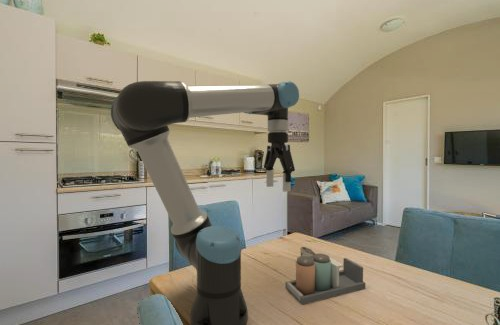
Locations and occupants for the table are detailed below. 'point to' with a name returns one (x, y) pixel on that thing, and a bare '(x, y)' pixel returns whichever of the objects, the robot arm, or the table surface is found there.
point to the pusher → (335, 273)
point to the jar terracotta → (305, 275)
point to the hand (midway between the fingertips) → (277, 188)
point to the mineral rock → (306, 252)
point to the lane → (347, 283)
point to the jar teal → (322, 272)
